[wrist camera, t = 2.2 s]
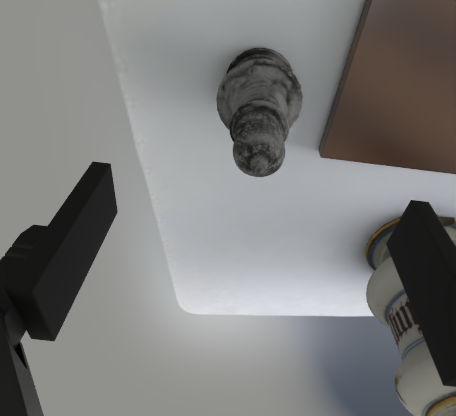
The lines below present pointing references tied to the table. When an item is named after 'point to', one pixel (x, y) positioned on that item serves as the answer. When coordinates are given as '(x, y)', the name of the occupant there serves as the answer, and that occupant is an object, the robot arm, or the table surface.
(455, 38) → the walnut board
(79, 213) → the robot arm
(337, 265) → the table surface
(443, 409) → the apothecary jar
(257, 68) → the grey tapered rounded piece
